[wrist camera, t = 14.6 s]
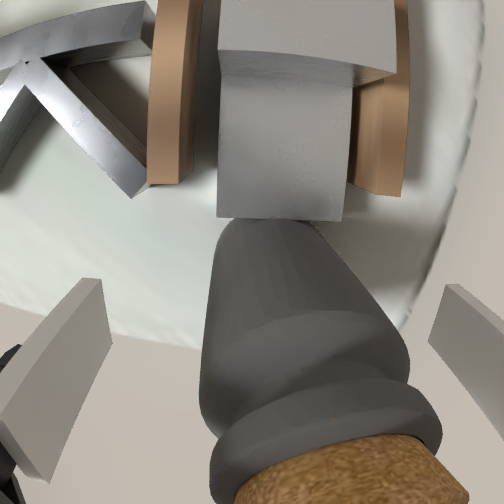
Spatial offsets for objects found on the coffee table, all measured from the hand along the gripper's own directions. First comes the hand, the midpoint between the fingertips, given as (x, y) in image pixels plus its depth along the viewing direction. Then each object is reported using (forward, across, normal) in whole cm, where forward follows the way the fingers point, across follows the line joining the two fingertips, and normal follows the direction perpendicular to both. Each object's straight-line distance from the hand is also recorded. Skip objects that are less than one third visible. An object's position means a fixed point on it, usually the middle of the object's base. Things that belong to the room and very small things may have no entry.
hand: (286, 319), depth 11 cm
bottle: (+7, 0, 0) cm, 7 cm away
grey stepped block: (+7, 0, +8) cm, 10 cm away
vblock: (+7, -12, +8) cm, 16 cm away
